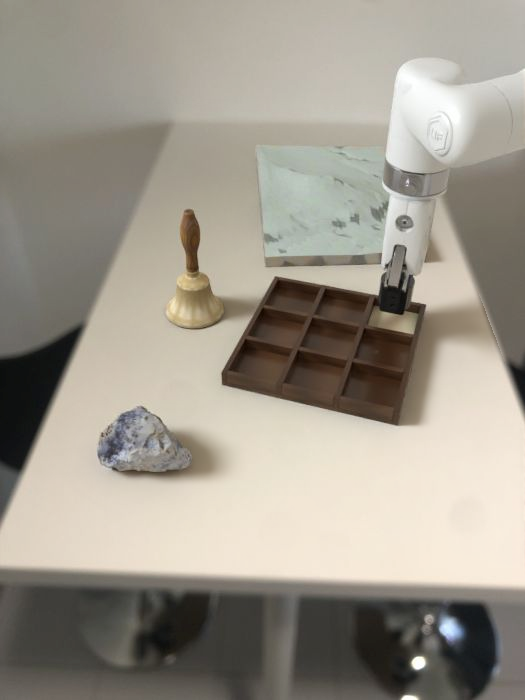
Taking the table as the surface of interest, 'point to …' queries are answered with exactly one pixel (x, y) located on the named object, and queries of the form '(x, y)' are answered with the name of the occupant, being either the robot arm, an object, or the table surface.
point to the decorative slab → (322, 204)
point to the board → (327, 350)
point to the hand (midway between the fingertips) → (395, 299)
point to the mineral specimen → (141, 444)
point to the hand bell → (193, 284)
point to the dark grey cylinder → (409, 285)
